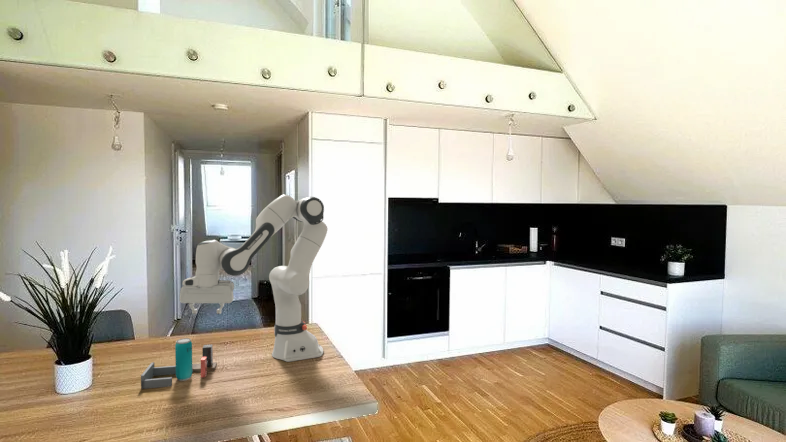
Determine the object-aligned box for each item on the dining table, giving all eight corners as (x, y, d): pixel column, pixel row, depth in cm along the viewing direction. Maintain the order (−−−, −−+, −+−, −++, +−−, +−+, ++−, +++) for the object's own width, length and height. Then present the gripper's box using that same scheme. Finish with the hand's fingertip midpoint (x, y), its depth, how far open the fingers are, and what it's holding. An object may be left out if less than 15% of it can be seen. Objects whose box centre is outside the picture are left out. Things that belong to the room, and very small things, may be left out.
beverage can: (195, 375, 161) (195, 338, 160) (186, 382, 155) (186, 343, 154) (181, 374, 162) (181, 337, 161) (172, 381, 156) (171, 342, 155)
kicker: (212, 365, 170) (212, 344, 169) (207, 377, 159) (207, 354, 158) (204, 366, 169) (204, 344, 168) (198, 377, 158) (198, 355, 158)
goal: (179, 372, 163) (179, 360, 163) (171, 386, 152) (171, 373, 152) (151, 374, 161) (151, 362, 161) (141, 389, 149) (140, 375, 149)
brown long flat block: (216, 365, 171) (216, 362, 171) (214, 370, 166) (214, 367, 166) (174, 368, 167) (174, 365, 167) (171, 373, 162) (171, 370, 162)
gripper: (235, 278, 171) (235, 311, 172) (183, 278, 168) (183, 311, 169) (232, 281, 165) (231, 315, 166) (178, 281, 162) (177, 315, 163)
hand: (206, 313), depth 167 cm, fingers open, 8 cm apart
